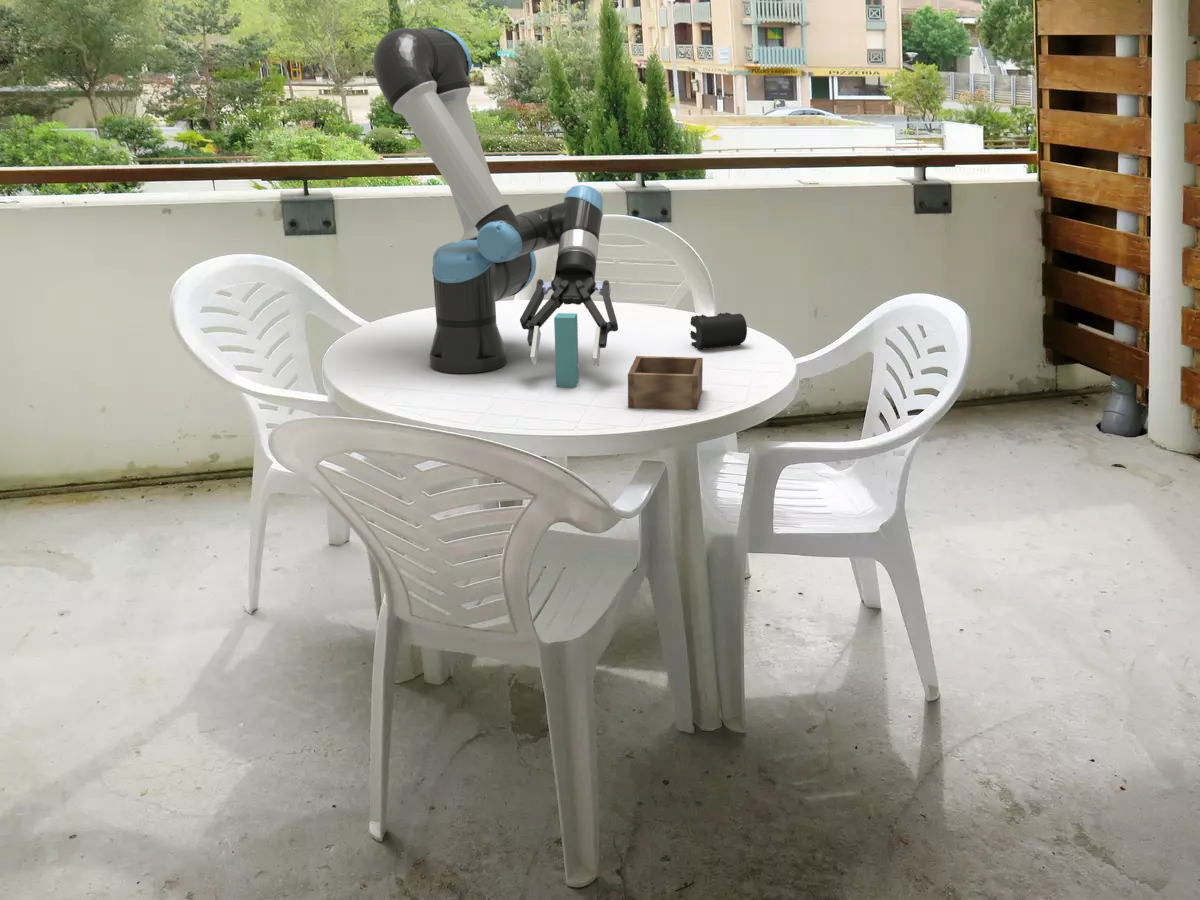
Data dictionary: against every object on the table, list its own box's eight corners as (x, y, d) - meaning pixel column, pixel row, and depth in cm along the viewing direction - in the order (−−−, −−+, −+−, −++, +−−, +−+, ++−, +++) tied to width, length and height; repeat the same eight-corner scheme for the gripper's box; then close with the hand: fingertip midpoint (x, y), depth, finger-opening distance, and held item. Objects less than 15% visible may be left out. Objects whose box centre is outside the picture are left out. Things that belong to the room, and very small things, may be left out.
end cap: (701, 353, 236) (702, 321, 234) (688, 345, 243) (688, 313, 240) (747, 349, 239) (747, 316, 237) (732, 341, 246) (733, 309, 243)
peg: (556, 386, 215) (554, 317, 211) (559, 381, 219) (557, 313, 214) (575, 387, 215) (573, 318, 210) (578, 381, 218) (577, 313, 214)
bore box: (628, 407, 203) (627, 374, 201) (636, 387, 214) (636, 356, 212) (697, 409, 201) (697, 376, 199) (702, 389, 212) (702, 357, 210)
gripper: (639, 272, 223) (629, 372, 214) (520, 270, 227) (505, 369, 217) (636, 249, 217) (625, 352, 207) (513, 247, 220) (498, 349, 211)
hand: (564, 361), depth 212 cm, fingers open, 11 cm apart
